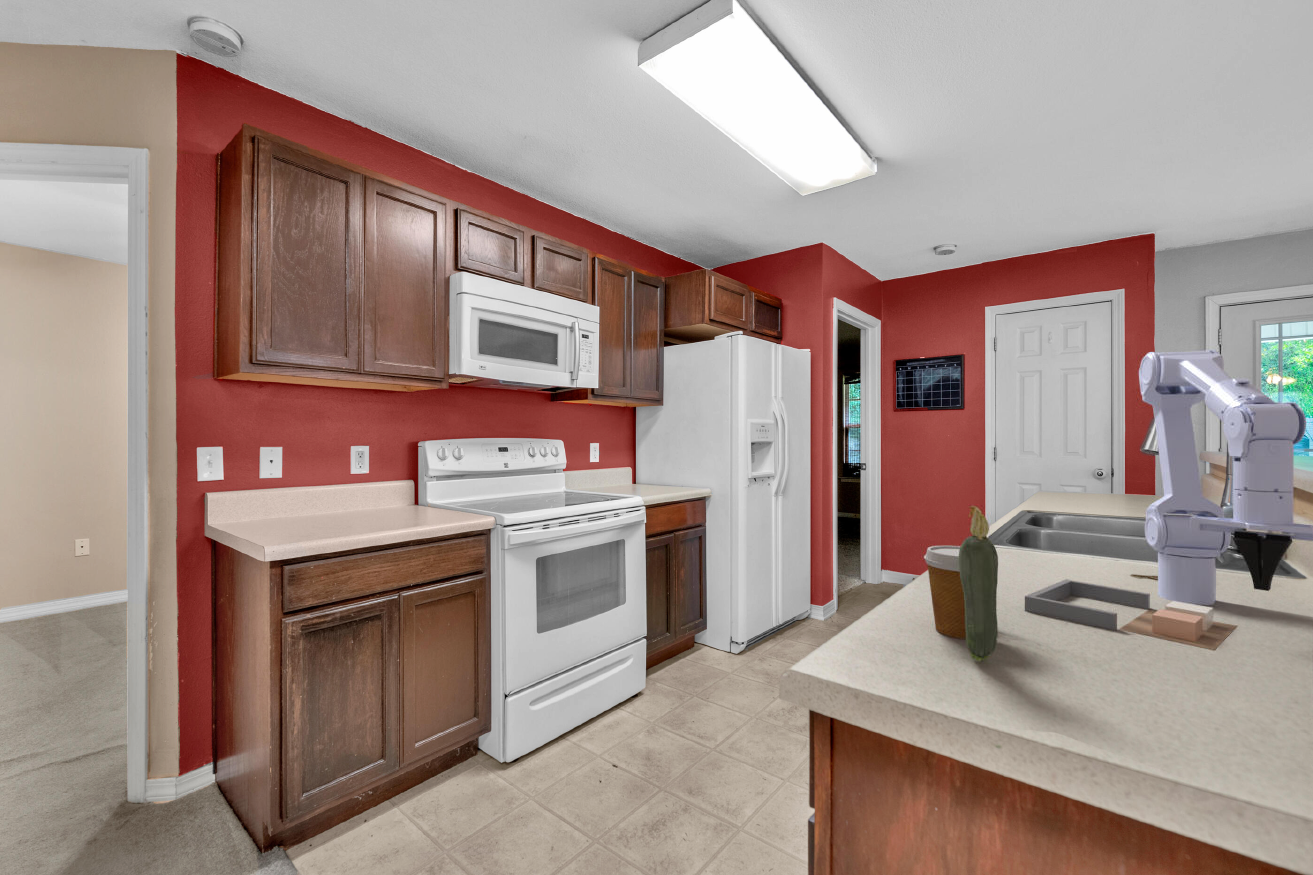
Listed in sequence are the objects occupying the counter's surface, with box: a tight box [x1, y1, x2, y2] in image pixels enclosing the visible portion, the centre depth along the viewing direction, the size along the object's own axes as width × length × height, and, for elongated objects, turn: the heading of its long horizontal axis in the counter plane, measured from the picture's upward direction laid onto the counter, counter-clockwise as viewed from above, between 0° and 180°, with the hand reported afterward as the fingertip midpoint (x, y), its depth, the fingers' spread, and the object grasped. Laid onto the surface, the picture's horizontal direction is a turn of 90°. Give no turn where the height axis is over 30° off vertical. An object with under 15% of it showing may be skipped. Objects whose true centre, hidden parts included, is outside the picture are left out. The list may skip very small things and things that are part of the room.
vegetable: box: [959, 505, 999, 663], centre depth 73 cm, size 4×4×20 cm
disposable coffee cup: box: [923, 545, 966, 640], centre depth 85 cm, size 10×10×12 cm
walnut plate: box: [1118, 608, 1238, 651], centre depth 84 cm, size 16×10×1 cm, turn 127°
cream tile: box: [1164, 600, 1214, 631], centre depth 85 cm, size 4×4×2 cm
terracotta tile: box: [1152, 608, 1202, 641], centre depth 81 cm, size 4×4×2 cm
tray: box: [1024, 578, 1151, 632], centre depth 92 cm, size 18×12×4 cm, turn 127°
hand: (1262, 588), depth 79 cm, fingers closed
